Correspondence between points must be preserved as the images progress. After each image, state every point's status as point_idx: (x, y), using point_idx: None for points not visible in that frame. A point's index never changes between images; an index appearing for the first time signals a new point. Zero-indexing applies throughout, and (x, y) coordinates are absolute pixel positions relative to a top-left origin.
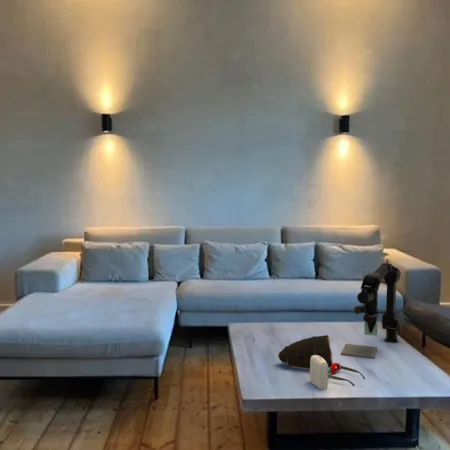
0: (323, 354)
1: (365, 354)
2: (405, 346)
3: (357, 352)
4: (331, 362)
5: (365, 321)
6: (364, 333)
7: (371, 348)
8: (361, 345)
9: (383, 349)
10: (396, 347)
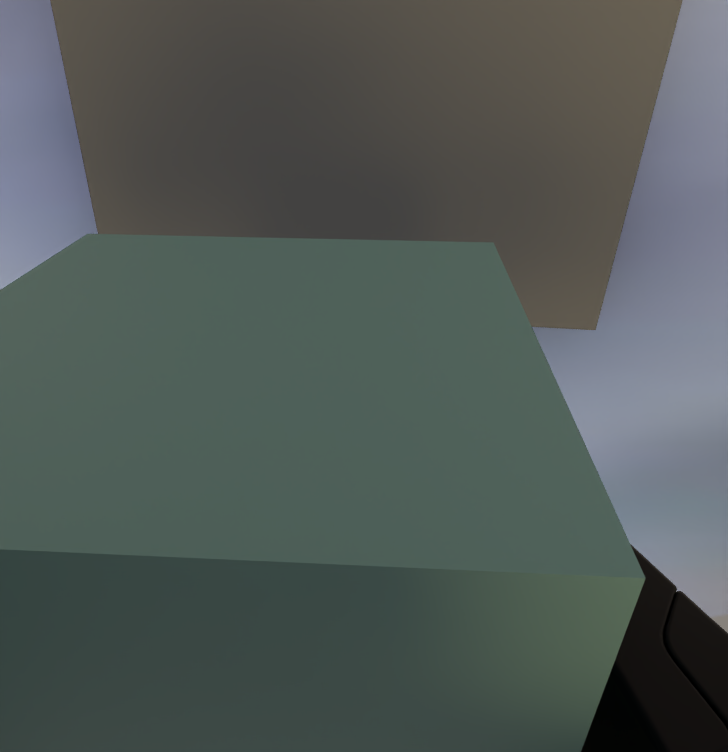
0: None
1: (149, 169)
2: (722, 597)
3: (188, 9)
4: None
5: (38, 579)
6: (73, 248)
7: (497, 249)
8: (655, 53)
9: (572, 393)
10: (677, 523)
